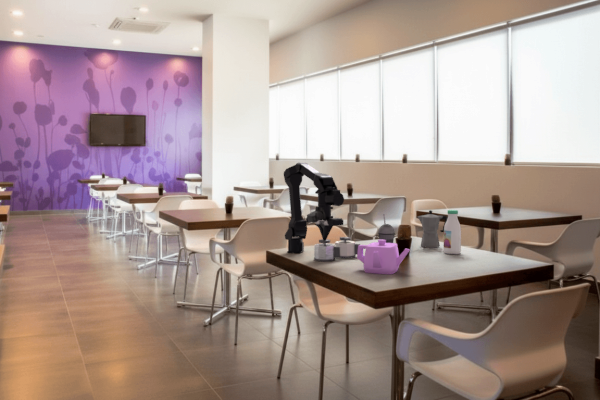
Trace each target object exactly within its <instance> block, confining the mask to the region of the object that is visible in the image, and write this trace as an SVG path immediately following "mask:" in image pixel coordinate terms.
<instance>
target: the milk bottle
mask: <svg viewBox="0 0 600 400" xmlns="http://www.w3.org/2000/svg"><path fill="white" fill-rule="evenodd" d="M458 214H459V210H457V209H449V210H447V218H448V219H447V221H446V223H445V222H444V223H445V226H444V225H443V226H444V232H443V253H444V254H447V255H460V254H461V253H462V252H461V251H462V227H461V224H460V221H459V219H458Z"/></svg>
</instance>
